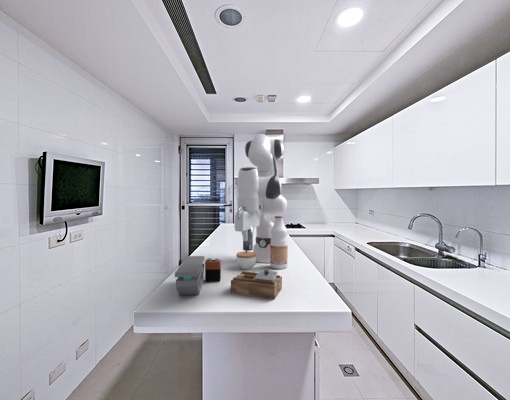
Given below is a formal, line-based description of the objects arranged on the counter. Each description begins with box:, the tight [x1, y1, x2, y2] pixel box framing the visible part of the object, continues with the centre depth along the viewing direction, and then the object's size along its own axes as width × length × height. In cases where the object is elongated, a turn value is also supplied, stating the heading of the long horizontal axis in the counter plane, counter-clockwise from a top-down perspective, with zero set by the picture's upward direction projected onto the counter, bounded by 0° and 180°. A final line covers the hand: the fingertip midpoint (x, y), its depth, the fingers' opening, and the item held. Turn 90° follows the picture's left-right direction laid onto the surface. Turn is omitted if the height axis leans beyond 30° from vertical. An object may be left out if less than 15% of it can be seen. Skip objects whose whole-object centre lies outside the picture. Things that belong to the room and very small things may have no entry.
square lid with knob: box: [256, 269, 278, 282], centre depth 101 cm, size 7×7×4 cm
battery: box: [204, 257, 222, 283], centre depth 115 cm, size 4×7×10 cm, turn 93°
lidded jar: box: [235, 250, 256, 270], centre depth 135 cm, size 11×11×9 cm
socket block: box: [230, 270, 283, 300], centre depth 103 cm, size 12×18×6 cm, turn 71°
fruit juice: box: [269, 215, 289, 270], centre depth 138 cm, size 9×9×28 cm
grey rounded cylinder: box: [242, 226, 254, 252], centre depth 104 cm, size 4×4×10 cm
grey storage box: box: [174, 255, 205, 296], centre depth 104 cm, size 25×8×11 cm, turn 5°
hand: (248, 239), depth 104 cm, fingers closed on grey rounded cylinder, 4 cm apart
